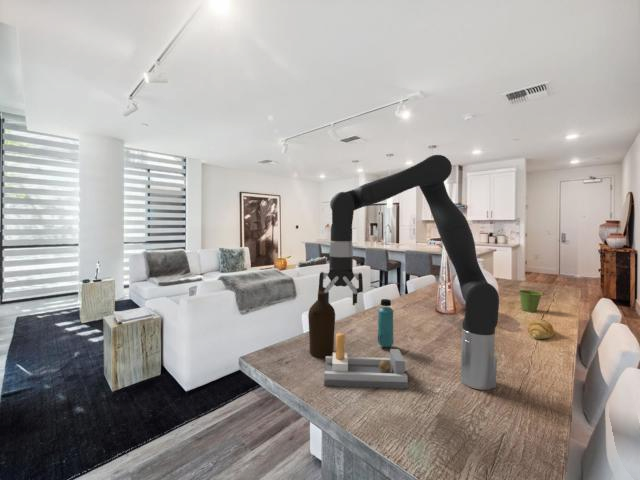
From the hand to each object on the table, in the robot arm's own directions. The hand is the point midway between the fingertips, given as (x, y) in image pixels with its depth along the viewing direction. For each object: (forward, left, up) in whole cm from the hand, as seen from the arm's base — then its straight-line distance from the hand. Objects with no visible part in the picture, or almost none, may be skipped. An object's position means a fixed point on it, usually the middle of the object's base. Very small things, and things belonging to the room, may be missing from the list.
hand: (340, 304), depth 97 cm
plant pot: (-114, -86, -25) cm, 145 cm away
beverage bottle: (-19, -26, -25) cm, 41 cm away
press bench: (-8, -2, -25) cm, 26 cm away
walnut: (-15, -2, -23) cm, 28 cm away
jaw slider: (0, -2, -23) cm, 23 cm away
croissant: (-94, -47, -25) cm, 108 cm away
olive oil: (+7, -19, -25) cm, 32 cm away
